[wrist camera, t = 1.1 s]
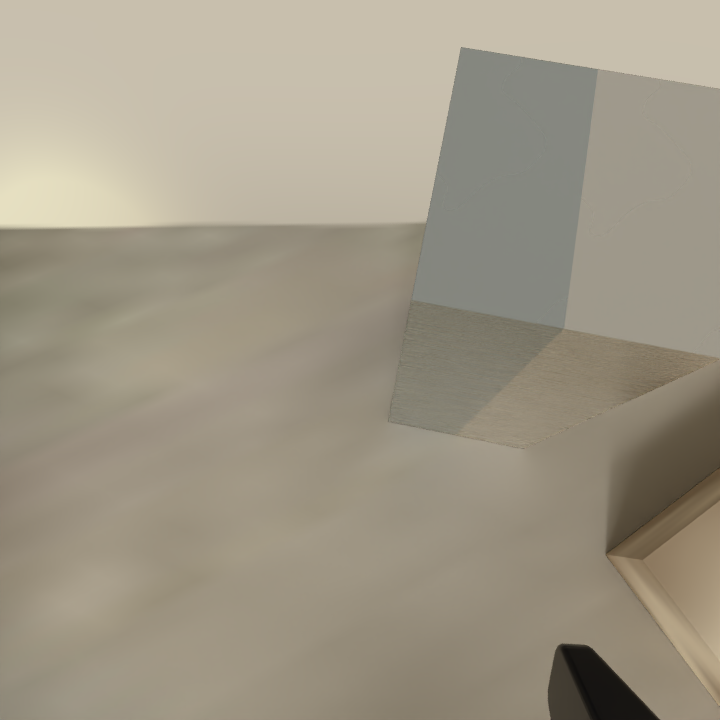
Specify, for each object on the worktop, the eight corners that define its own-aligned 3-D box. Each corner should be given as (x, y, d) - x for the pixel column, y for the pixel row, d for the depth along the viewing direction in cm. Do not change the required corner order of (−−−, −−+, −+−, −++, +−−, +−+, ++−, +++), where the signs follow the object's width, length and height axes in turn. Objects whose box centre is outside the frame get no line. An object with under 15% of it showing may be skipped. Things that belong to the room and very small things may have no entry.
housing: (542, 319, 24) (739, 92, 11) (524, 448, 22) (721, 358, 10) (413, 295, 24) (460, 47, 11) (388, 421, 23) (411, 299, 10)
